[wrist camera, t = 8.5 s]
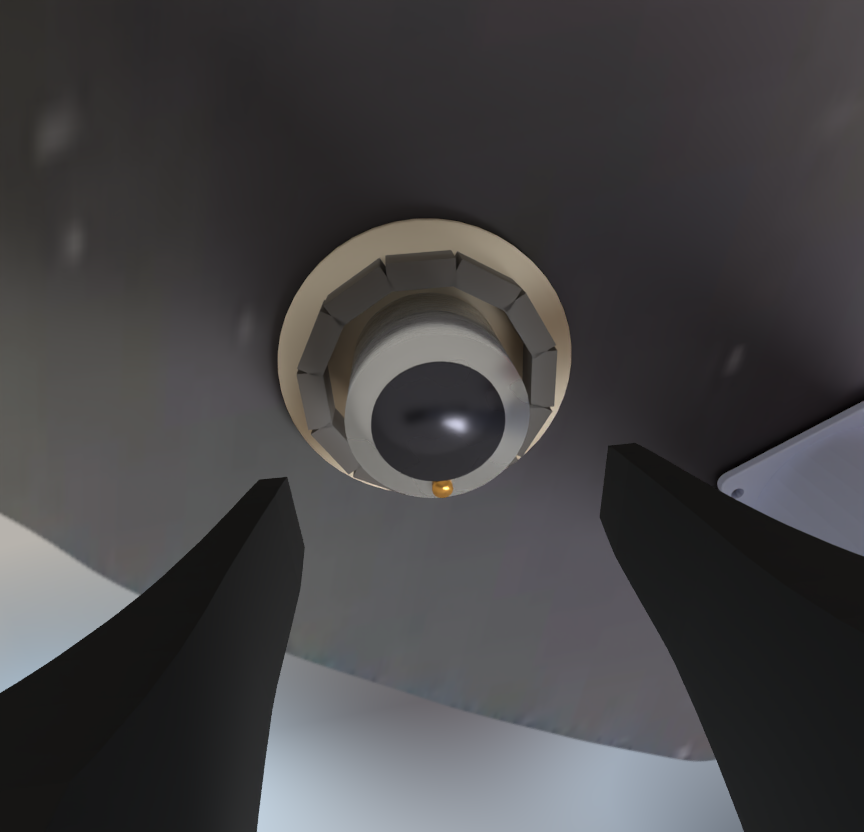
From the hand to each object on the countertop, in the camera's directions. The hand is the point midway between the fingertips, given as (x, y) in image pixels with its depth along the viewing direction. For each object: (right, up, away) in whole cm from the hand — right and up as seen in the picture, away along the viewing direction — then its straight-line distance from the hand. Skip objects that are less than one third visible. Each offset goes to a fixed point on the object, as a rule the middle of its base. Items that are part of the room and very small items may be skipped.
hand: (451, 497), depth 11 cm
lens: (-1, +4, +6) cm, 7 cm away
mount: (-1, +4, +6) cm, 7 cm away
